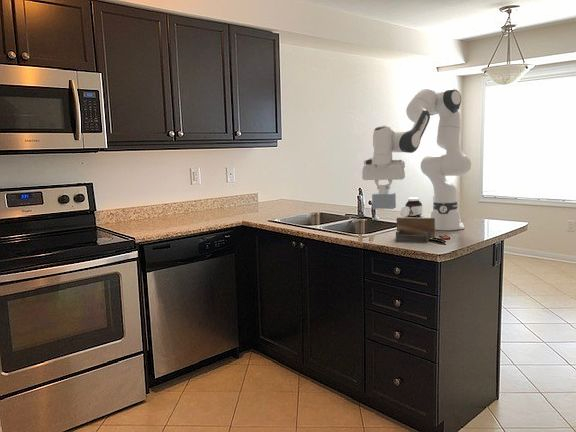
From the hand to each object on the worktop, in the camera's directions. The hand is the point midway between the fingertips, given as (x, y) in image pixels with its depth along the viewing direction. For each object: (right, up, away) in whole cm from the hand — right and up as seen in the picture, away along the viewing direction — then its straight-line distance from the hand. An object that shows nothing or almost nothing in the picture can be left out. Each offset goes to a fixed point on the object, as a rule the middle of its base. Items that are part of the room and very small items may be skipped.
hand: (383, 189), depth 225 cm
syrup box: (+44, -15, +52) cm, 70 cm away
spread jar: (+31, -14, +68) cm, 76 cm away
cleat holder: (+14, -24, 0) cm, 28 cm away
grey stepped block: (+1, -9, +1) cm, 9 cm away
